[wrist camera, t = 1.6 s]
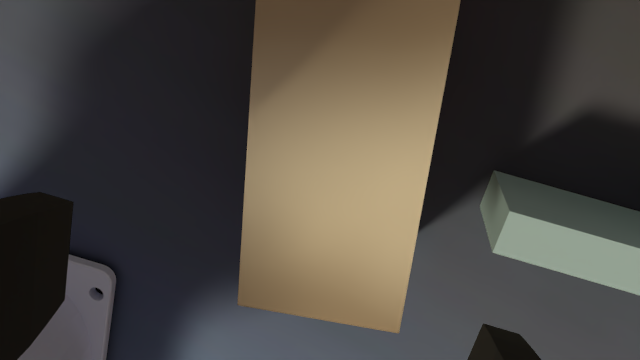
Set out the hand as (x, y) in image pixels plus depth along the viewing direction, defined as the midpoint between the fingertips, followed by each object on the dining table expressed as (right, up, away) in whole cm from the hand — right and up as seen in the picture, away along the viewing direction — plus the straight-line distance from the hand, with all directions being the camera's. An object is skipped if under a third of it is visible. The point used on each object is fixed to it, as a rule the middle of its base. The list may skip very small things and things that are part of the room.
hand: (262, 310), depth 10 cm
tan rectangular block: (+2, +7, +6) cm, 10 cm away
